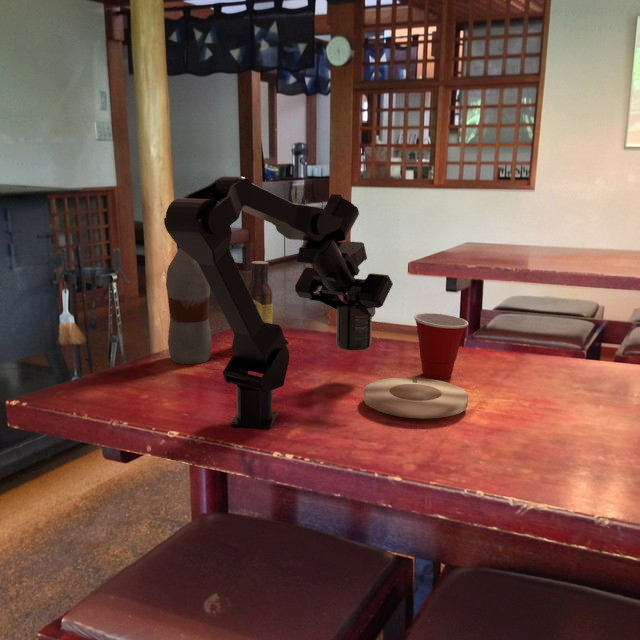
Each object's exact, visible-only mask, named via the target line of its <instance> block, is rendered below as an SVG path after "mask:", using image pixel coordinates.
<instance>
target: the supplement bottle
mask: <svg viewBox="0 0 640 640" xmlns="http://www.w3.org/2000/svg"><path fill="white" fill-rule="evenodd" d="M341 297H342V299H340V301H339V302H338V304H337V311H336V334H335V335H336V346H337V348H339V349H340V350H344V351H353V352H354V351H356V352H357V351H365V350H368V349H370V347H371V346H372V324H373V319H372V318H373V317H371V316H369V315H368V314H367V313H365V312H364V311H363V310H361V309H360V308H359V307H358V306H357V305H358V303H359V292H355V291H349V292H348V294H345V296H343V295H341Z"/></svg>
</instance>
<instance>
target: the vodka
mask: <svg viewBox="0 0 640 640" xmlns="http://www.w3.org/2000/svg"><path fill="white" fill-rule="evenodd" d="M165 286H166V293H167V303H168V310H169V311H168V312H169V327H168V336H167V338H168V339H167V347H168V353H169V356H170V359H171V361H172V362H174V363H176V364H180V365H197V364H202V363H206V362H208V361H209V359H210V357H211V353H212V344H213V343H212V342H213V341H212V340H213V339H212V333H211V332H212V330H211V326H210V325H211V324H210V320H209V312H210V311H209V310H210V297H211V288H210V286H209V284H208V282H207V280H206V278H205V276H204V274H203V272H202V270H201V268H200V266H199V264H198V263H197V261H196V260H194V259H193V258H192V257H191V256H189V255H188V254H187V253H186V252H184V251H183V250H182V249H181V248H179V247H178V250H177V251H176V253H175V255H174V256H173V258H172V260H171V261H170V263H169V265H168V267H167V271H166V280H165Z"/></svg>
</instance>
